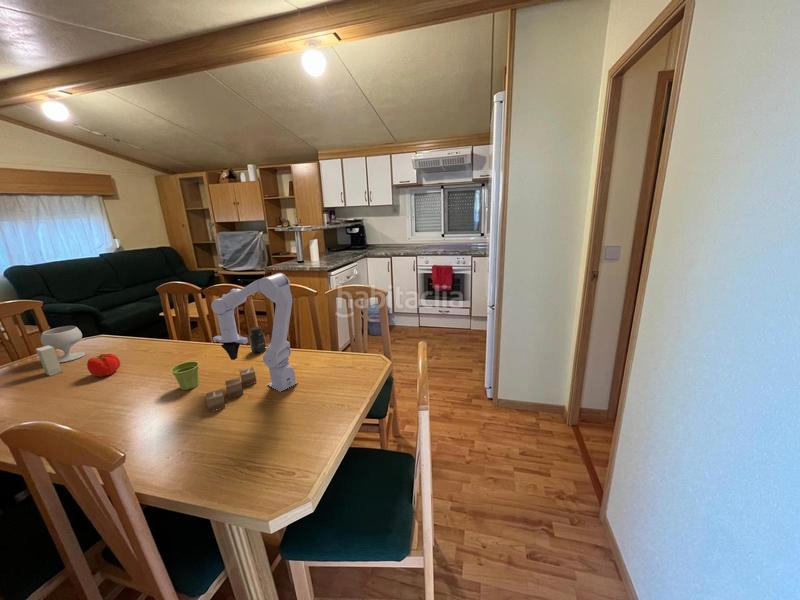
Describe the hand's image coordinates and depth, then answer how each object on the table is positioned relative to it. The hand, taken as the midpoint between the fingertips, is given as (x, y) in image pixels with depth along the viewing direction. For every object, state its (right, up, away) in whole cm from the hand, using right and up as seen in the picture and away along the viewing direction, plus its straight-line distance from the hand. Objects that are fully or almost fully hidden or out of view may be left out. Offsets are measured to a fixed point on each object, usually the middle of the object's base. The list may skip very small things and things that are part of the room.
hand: (234, 358), depth 129 cm
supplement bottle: (-3, -2, +29) cm, 30 cm away
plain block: (+4, -12, -8) cm, 15 cm away
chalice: (-97, -5, +30) cm, 102 cm away
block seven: (+6, -9, 0) cm, 11 cm away
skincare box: (-89, -9, +15) cm, 91 cm away
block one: (+2, -14, -16) cm, 21 cm away
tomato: (-62, -9, +12) cm, 64 cm away
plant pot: (-17, -11, -1) cm, 20 cm away
